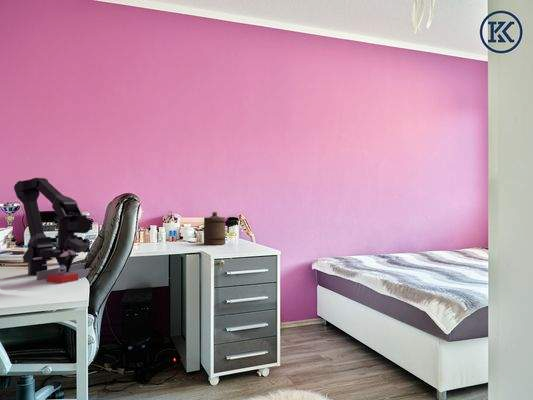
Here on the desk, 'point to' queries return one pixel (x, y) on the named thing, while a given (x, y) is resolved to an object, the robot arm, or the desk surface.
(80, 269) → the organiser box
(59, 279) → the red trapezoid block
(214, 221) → the wooden container
